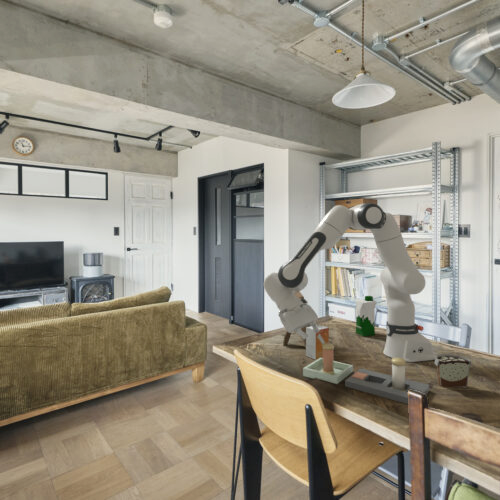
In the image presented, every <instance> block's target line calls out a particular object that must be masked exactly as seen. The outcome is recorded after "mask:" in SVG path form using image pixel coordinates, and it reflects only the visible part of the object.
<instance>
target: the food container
mask: <svg viewBox="0 0 500 500" xmlns="http://www.w3.org/2000/svg"><path fill="white" fill-rule="evenodd" d="M434 365H435V366H436V372H437V373H436V374H437V382H438V383H437V384H438V385H439V387H451V388H453V387H463V388H468V383H469V374H470V367H471V366H472V361H471V358H468V357H465V356H462V355H458V354H450V353H445V354H443V353H440V354H438V356H437V357H436V359H435V360H434Z"/></svg>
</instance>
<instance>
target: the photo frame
mask: <svg viewBox="0 0 500 500" xmlns="http://www.w3.org/2000/svg"><path fill="white" fill-rule="evenodd" d="M294 295H295V296H296V297H298V298H301V299H305V297H304V295H303V294H302V293H301V291H299V292H297V293H295V294H294ZM306 327H310V325H307V326H305V327H303V328H301V330H302V331H303V332H304V333H306ZM291 335H292V332H291V333H289V332H288V331H287V330H286V332H285V334H284V337H283V344H282V346H286V345H288V344H289V340H290V339H291ZM300 337H301V336H300ZM301 340H302V343H303V344H304V347H305V348H306V339H303V338H302V337H301Z"/></svg>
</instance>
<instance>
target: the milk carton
mask: <svg viewBox="0 0 500 500" xmlns="http://www.w3.org/2000/svg"><path fill="white" fill-rule="evenodd" d="M354 303H355V309H356V311H355V312H356V313H355V314H356V316H355V319H356V322H355V334H358V335H360V336H362V337H369V336H375V335H376V328H375V327H376V326H375V324H376V323H375V320H376V319H375V317H376V315H375V310H376V309H375V308H376V305H377V301H376V300H374V296H372V295H365V296H364V298H361V299H355V300H354Z"/></svg>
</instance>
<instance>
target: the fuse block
mask: <svg viewBox="0 0 500 500" xmlns="http://www.w3.org/2000/svg"><path fill="white" fill-rule="evenodd" d="M344 387H346V388H350V389H354V390H357V391H360V392H364V393H367V394H370V395H373V396H379V397H381V398H385V399H388V400H392V401H396V402H399V403H403V404H405V405H409V404H408V395H407V392H408V390H409V389H412V390H417V391H420V392H422V393H425V394H426V396H427V395H428V393H429V391H430V384H427V383H424V382H419V381H414V380H410V379H406V378H405V391H401V390H398V389H394V388H391V387H392V375H390V374H386V373H381V372H377V371H373V370H369V369H366V368H359V369H357V370H356V371H355V372H354V373H352V374H350V375H349V377H348V378H346V379H344Z"/></svg>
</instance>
